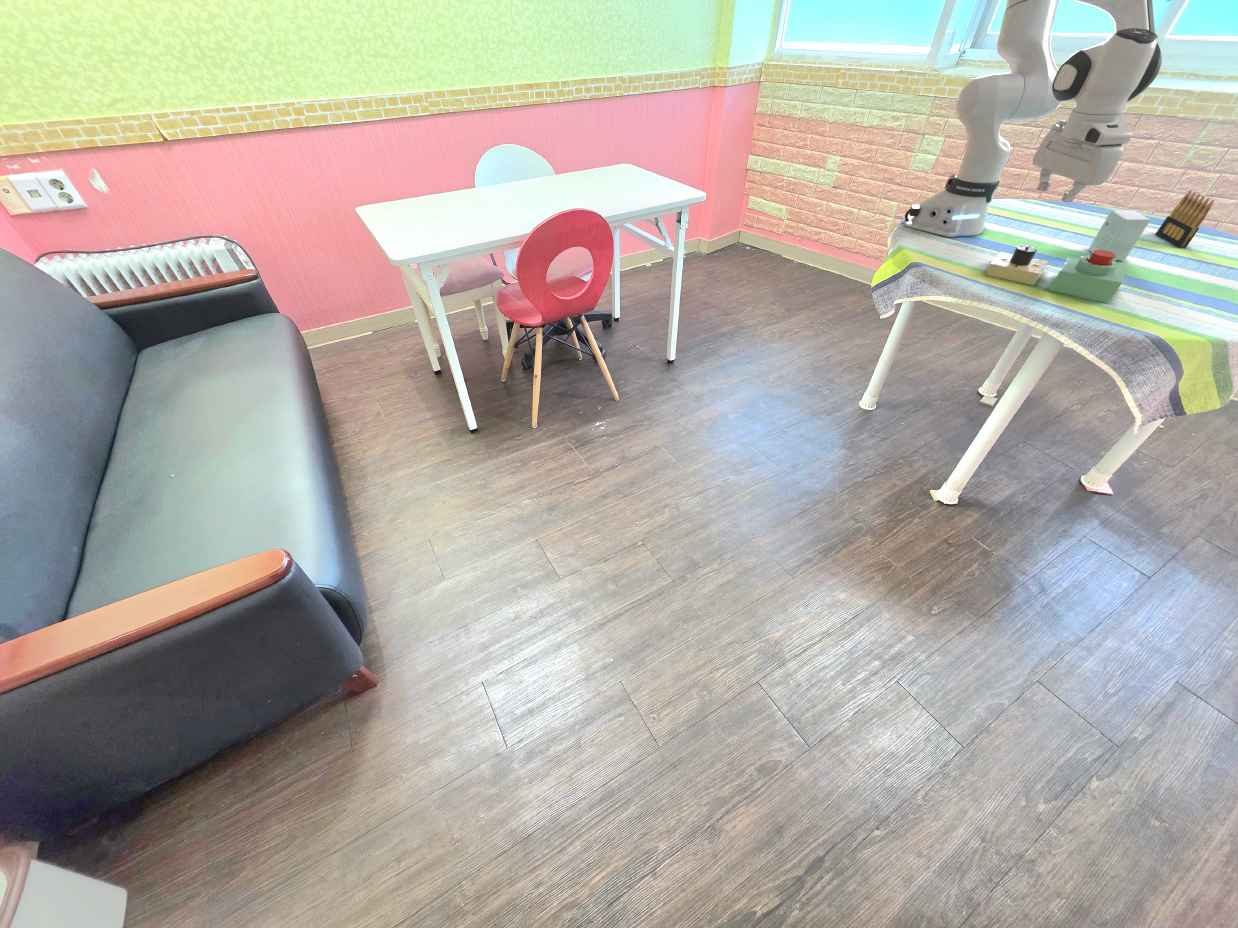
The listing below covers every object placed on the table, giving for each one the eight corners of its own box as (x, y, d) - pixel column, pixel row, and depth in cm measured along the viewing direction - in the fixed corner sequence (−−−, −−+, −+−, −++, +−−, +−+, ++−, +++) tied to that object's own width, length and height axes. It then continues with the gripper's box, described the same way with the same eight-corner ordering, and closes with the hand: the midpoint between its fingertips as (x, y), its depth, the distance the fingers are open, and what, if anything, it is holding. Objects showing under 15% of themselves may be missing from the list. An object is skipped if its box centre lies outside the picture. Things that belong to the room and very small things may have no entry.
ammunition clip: (1154, 234, 146) (1184, 189, 138) (1161, 234, 146) (1192, 189, 137) (1178, 247, 138) (1212, 201, 130) (1186, 247, 138) (1220, 201, 130)
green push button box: (1048, 290, 123) (1064, 262, 119) (1057, 277, 129) (1073, 249, 124) (1108, 303, 117) (1127, 274, 113) (1114, 288, 122) (1133, 260, 118)
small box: (1124, 261, 133) (1151, 220, 126) (1101, 260, 134) (1126, 219, 127) (1109, 250, 139) (1135, 210, 132) (1087, 249, 140) (1110, 209, 133)
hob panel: (985, 275, 131) (991, 263, 129) (995, 263, 137) (1001, 251, 134) (1033, 285, 126) (1040, 273, 124) (1042, 272, 131) (1049, 260, 129)
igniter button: (1085, 264, 118) (1091, 254, 117) (1088, 258, 121) (1094, 248, 119) (1107, 268, 116) (1114, 258, 115) (1111, 262, 118) (1117, 252, 117)
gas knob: (1028, 266, 127) (1036, 251, 124) (1008, 263, 129) (1016, 248, 126) (1030, 261, 129) (1038, 246, 127) (1011, 257, 131) (1018, 243, 129)
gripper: (1043, 119, 116) (1013, 184, 126) (1109, 138, 101) (1069, 210, 111) (1070, 118, 116) (1038, 183, 126) (1140, 136, 101) (1097, 208, 111)
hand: (1053, 196), depth 118 cm, fingers open, 7 cm apart
